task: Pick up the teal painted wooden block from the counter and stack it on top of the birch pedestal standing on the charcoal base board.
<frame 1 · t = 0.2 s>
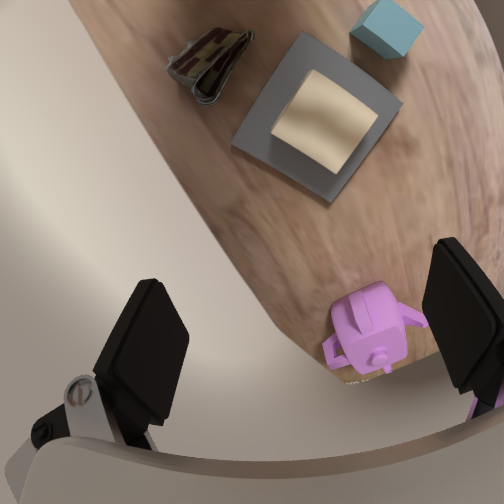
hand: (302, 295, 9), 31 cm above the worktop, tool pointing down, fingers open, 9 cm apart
teal block: (377, 32, 25), on the worktop
teakettle: (369, 311, 51), on the worktop
stacking base: (318, 117, 33), on the worktop
chocolate cake: (210, 58, 29), on the worktop
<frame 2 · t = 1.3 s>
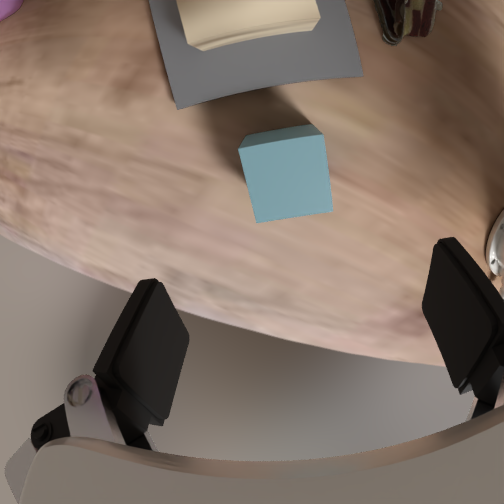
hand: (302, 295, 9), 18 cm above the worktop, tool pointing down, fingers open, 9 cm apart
teal block: (285, 159, 25), on the worktop
stacking base: (246, 0, 16), on the worktop
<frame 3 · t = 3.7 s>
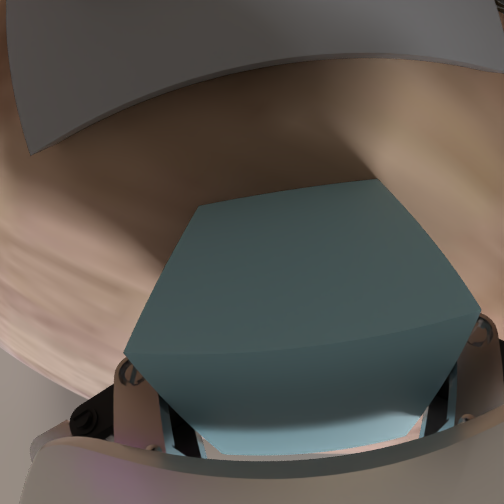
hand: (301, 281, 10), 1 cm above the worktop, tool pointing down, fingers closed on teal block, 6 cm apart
teal block: (299, 266, 10), on the worktop, touching gripper
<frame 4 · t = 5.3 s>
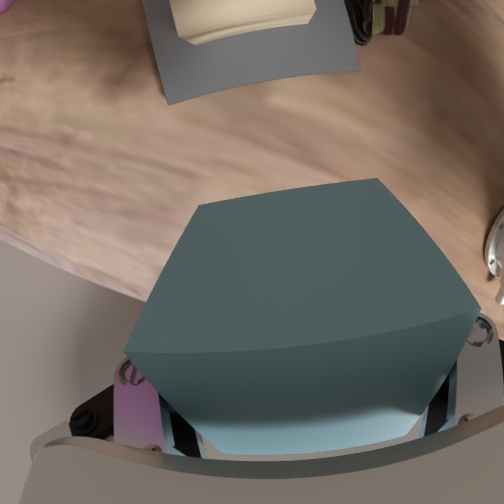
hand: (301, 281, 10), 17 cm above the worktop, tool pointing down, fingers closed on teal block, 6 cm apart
teal block: (299, 265, 10), point 16 cm above the worktop, touching gripper
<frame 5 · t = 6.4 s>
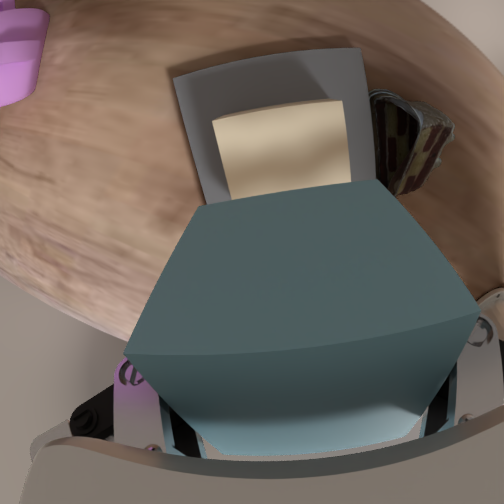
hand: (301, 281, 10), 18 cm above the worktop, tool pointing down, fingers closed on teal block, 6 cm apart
teal block: (299, 266, 10), point 17 cm above the worktop, touching gripper
teakettle: (11, 61, 17), on the worktop
stacking base: (285, 151, 24), on the worktop
chocolate cake: (403, 147, 23), on the worktop, touching stacking base
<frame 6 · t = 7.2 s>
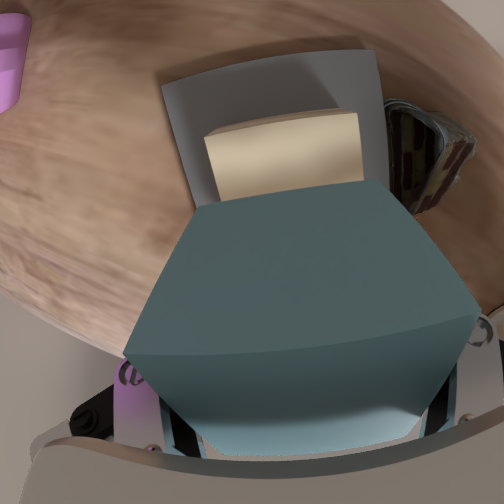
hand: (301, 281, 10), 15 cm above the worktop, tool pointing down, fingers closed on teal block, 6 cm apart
teal block: (299, 266, 10), point 14 cm above the worktop, touching gripper
stacking base: (289, 167, 22), on the worktop
chocolate cake: (419, 162, 20), on the worktop
when the fingers open (8 cm above the worktop, at t = 8.7 s): teal block drops 1 cm, resting on stacking base.
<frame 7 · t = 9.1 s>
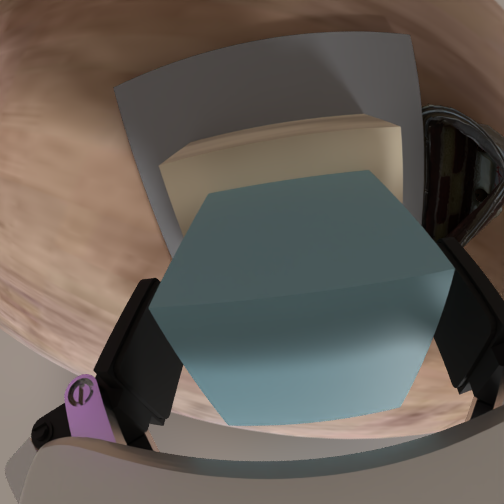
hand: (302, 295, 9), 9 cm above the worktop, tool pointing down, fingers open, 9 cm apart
teal block: (299, 249, 11), point 6 cm above the worktop, touching stacking base
stacking base: (290, 194, 16), on the worktop
chocolate cake: (455, 187, 15), on the worktop
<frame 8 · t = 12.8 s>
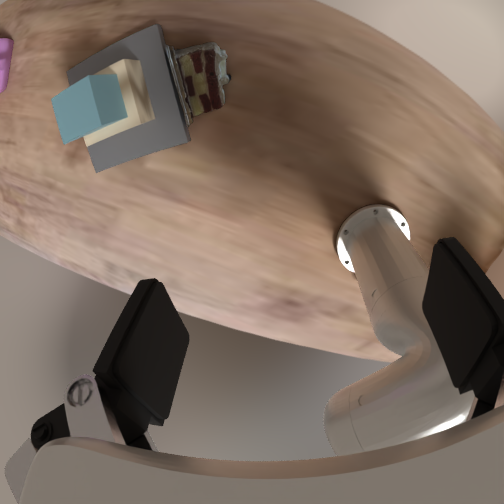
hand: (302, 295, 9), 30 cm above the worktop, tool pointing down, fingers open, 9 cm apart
teal block: (103, 104, 27), point 6 cm above the worktop, touching stacking base
stacking base: (124, 99, 32), on the worktop
chocolate cake: (205, 78, 31), on the worktop
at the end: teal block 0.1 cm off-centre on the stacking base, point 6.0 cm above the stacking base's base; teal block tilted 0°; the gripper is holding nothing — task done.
